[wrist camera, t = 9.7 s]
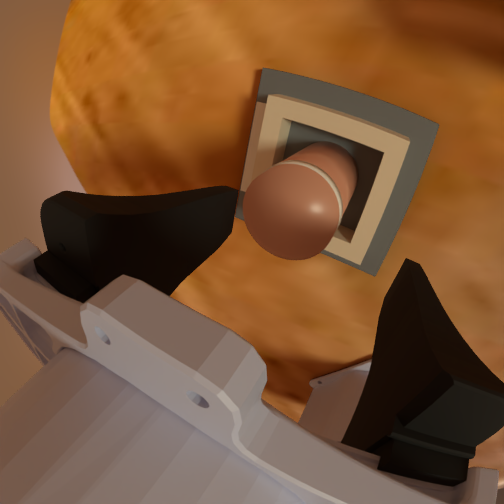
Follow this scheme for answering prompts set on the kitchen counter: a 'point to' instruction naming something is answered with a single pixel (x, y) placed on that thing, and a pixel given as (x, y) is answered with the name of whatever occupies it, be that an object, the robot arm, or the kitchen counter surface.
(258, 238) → the tube
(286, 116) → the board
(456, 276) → the kitchen counter surface
